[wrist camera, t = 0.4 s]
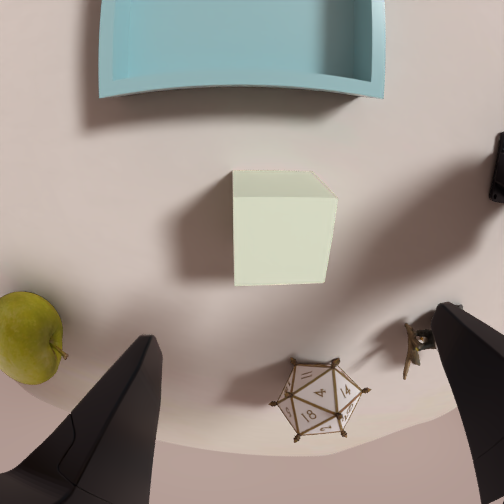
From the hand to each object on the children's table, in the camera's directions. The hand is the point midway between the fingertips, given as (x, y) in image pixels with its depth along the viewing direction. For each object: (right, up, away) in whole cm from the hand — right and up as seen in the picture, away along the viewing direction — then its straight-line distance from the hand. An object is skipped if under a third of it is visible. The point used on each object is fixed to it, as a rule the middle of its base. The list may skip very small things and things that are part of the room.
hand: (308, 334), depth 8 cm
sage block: (0, +5, +11) cm, 12 cm away
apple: (-22, -3, +14) cm, 26 cm away
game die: (+4, -9, +20) cm, 22 cm away
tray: (-2, +20, +2) cm, 20 cm away
